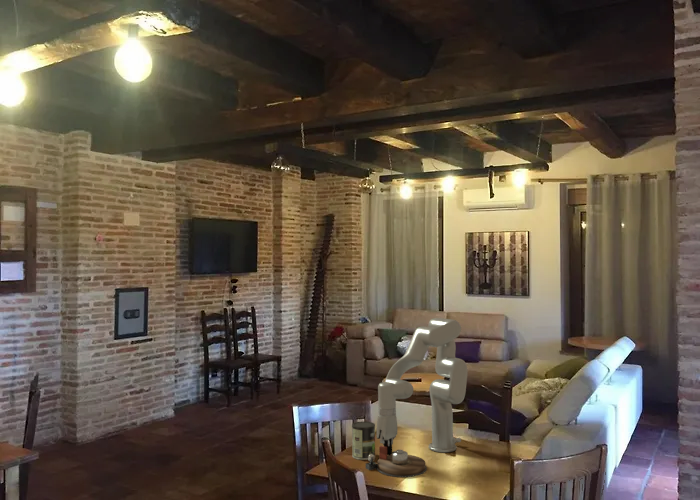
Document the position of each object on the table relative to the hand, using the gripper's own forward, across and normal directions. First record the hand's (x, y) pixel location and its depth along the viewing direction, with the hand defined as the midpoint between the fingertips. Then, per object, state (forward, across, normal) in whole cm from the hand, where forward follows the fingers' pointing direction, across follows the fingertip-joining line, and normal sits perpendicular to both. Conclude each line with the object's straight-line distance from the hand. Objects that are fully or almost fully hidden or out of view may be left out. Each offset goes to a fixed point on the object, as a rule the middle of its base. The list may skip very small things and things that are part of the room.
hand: (388, 454), depth 251 cm
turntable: (+4, +3, +8) cm, 9 cm away
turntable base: (+4, +3, +8) cm, 9 cm away
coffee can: (+4, 0, -13) cm, 14 cm away
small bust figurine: (+3, +10, -2) cm, 11 cm away
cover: (+1, +4, +8) cm, 9 cm away
